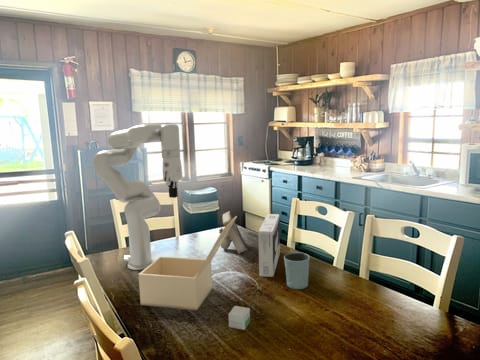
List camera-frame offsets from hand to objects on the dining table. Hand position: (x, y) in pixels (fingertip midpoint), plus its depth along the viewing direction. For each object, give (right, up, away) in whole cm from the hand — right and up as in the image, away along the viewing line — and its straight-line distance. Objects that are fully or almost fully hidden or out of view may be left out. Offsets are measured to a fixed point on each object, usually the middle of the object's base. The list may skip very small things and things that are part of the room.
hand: (173, 197), depth 156 cm
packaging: (+43, -32, +16) cm, 56 cm away
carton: (+4, -38, -15) cm, 41 cm away
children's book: (+25, -29, +36) cm, 53 cm away
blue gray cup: (+51, -35, -8) cm, 63 cm away
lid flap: (+20, -17, -22) cm, 34 cm away
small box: (+28, -40, -36) cm, 61 cm away
